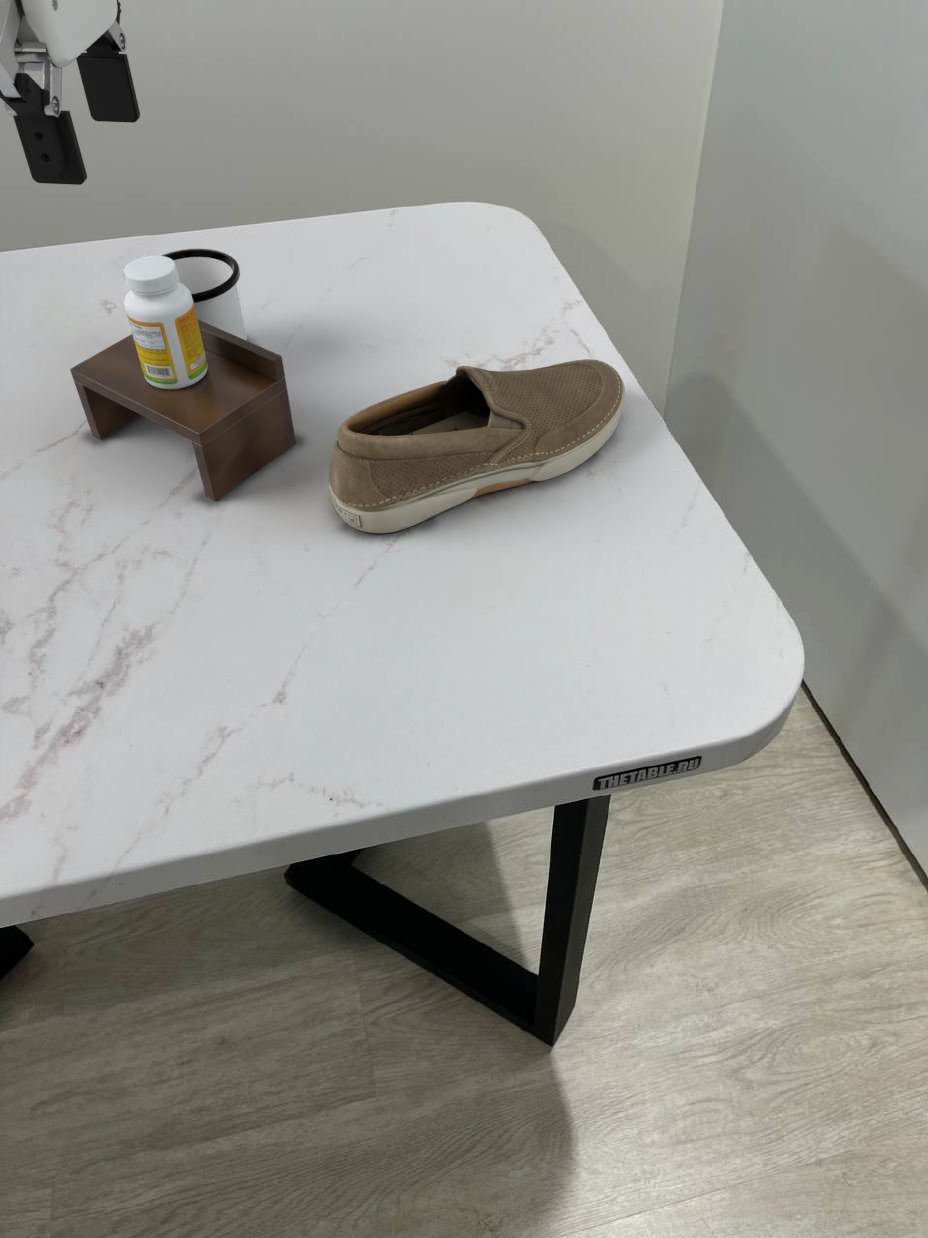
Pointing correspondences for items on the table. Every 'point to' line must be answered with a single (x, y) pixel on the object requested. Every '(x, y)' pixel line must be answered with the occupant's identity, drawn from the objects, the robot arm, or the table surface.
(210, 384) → the shelf
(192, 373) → the supplement bottle
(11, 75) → the robot arm
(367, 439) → the slip on shoe
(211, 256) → the mug
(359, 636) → the table surface
